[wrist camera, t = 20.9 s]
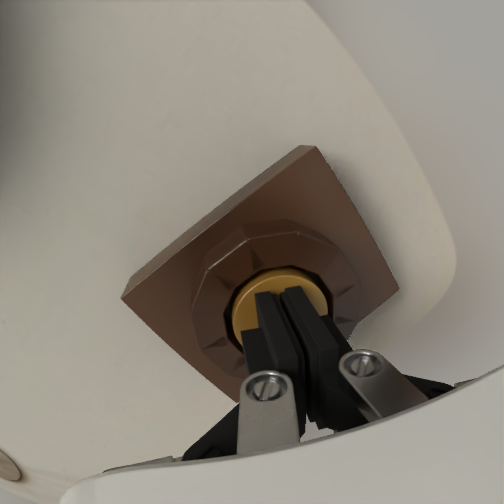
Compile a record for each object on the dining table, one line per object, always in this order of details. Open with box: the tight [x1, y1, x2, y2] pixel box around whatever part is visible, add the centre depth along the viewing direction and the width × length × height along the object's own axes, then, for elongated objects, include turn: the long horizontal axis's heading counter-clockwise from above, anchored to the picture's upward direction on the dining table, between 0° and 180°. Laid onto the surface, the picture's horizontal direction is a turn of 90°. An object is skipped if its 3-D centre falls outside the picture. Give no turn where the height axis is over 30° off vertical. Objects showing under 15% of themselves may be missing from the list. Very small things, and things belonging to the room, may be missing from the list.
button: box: [229, 265, 328, 346], centre depth 13 cm, size 4×4×2 cm
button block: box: [121, 145, 399, 403], centre depth 14 cm, size 10×8×4 cm
